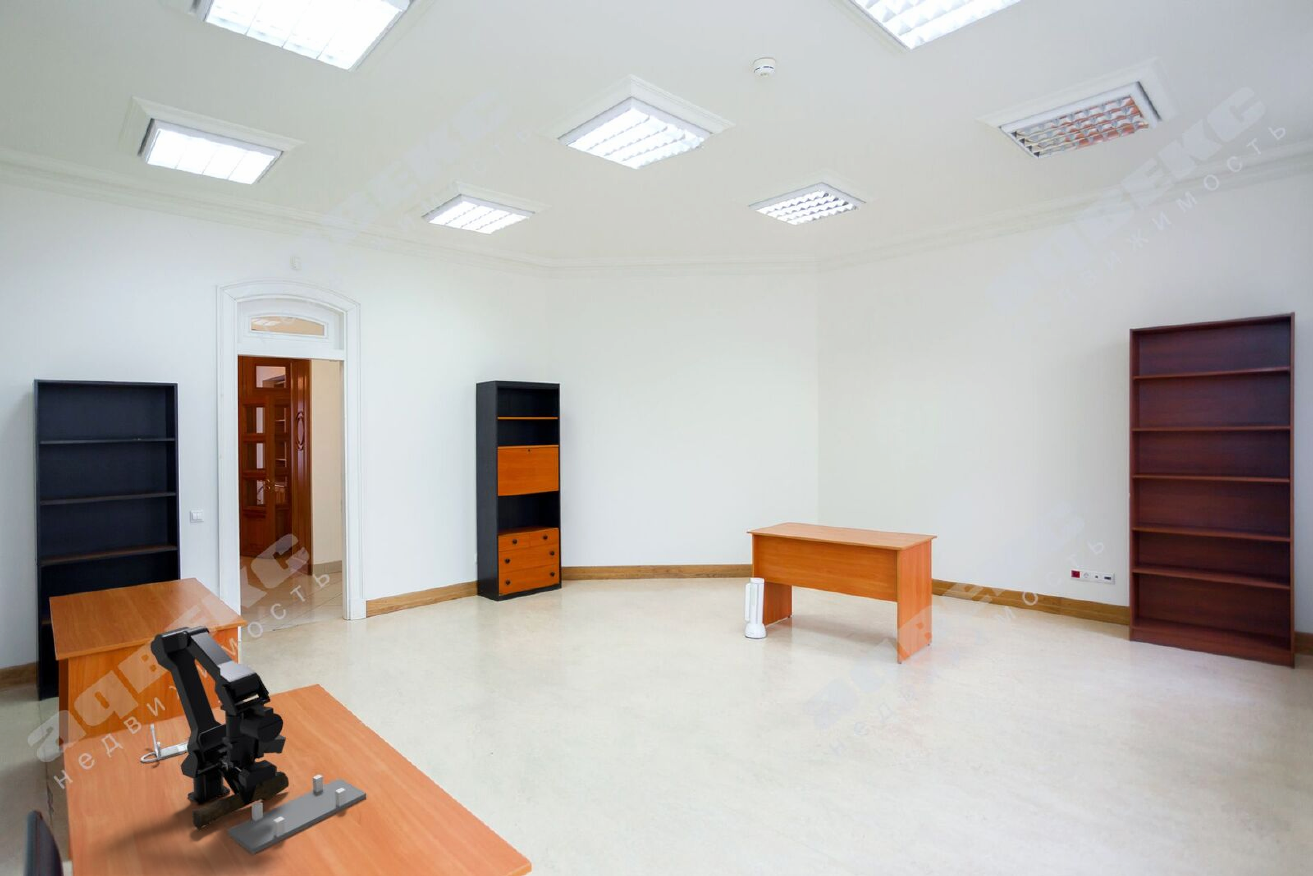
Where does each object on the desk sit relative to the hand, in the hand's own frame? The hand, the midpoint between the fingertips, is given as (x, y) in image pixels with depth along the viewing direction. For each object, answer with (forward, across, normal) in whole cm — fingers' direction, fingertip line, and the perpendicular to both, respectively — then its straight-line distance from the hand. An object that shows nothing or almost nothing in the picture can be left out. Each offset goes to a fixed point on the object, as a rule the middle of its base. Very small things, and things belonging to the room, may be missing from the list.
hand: (244, 801), depth 151 cm
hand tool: (+2, 0, 0) cm, 2 cm away
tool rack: (+2, -12, -6) cm, 14 cm away
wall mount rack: (+2, +44, -3) cm, 45 cm away
